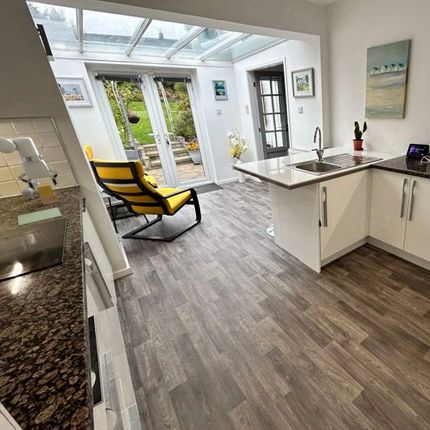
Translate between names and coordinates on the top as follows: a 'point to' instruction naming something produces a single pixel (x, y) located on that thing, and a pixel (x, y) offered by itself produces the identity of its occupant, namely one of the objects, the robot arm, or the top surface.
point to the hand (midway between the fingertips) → (44, 187)
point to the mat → (38, 216)
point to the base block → (49, 199)
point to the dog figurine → (31, 190)
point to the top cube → (45, 190)
